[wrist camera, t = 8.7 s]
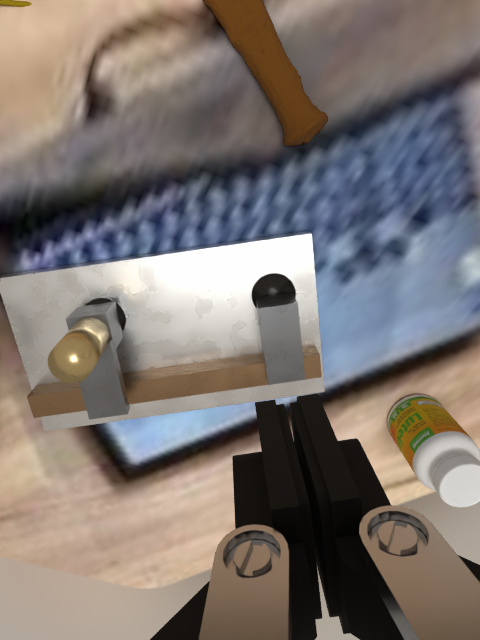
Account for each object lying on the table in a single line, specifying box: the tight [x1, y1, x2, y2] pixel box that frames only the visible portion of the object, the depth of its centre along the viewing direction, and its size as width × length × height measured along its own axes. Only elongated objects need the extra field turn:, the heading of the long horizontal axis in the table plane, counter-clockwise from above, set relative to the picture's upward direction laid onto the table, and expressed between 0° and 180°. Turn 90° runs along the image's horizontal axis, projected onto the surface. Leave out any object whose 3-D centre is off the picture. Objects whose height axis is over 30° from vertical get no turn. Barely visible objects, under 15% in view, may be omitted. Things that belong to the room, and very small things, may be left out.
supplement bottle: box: [387, 394, 480, 507], centre depth 39 cm, size 5×5×10 cm
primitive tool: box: [203, 0, 328, 146], centre depth 31 cm, size 19×6×4 cm, turn 34°
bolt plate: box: [0, 231, 325, 431], centre depth 38 cm, size 25×14×4 cm, turn 98°
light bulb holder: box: [48, 302, 130, 420], centre depth 34 cm, size 3×8×8 cm, turn 8°
